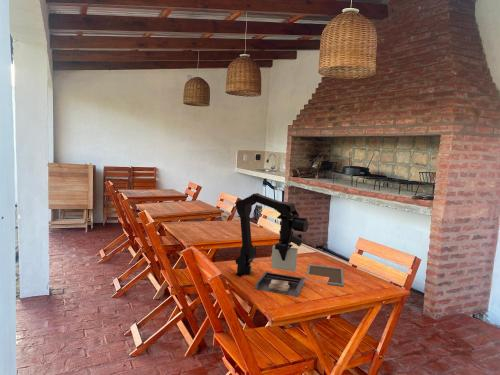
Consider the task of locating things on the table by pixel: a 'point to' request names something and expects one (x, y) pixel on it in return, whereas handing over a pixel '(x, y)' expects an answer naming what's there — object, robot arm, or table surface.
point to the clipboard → (327, 274)
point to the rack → (266, 278)
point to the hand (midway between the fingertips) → (284, 259)
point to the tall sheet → (289, 260)
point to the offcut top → (279, 283)
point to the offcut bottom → (279, 288)
